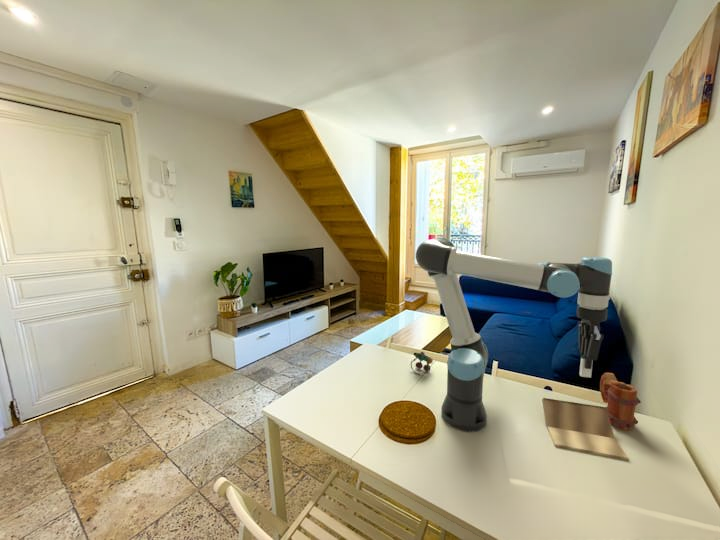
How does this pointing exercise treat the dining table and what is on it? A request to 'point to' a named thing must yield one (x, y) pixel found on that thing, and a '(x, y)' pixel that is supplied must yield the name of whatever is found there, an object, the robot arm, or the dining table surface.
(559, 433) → the laid board
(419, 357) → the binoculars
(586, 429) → the plank
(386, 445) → the dining table surface
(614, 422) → the mug
